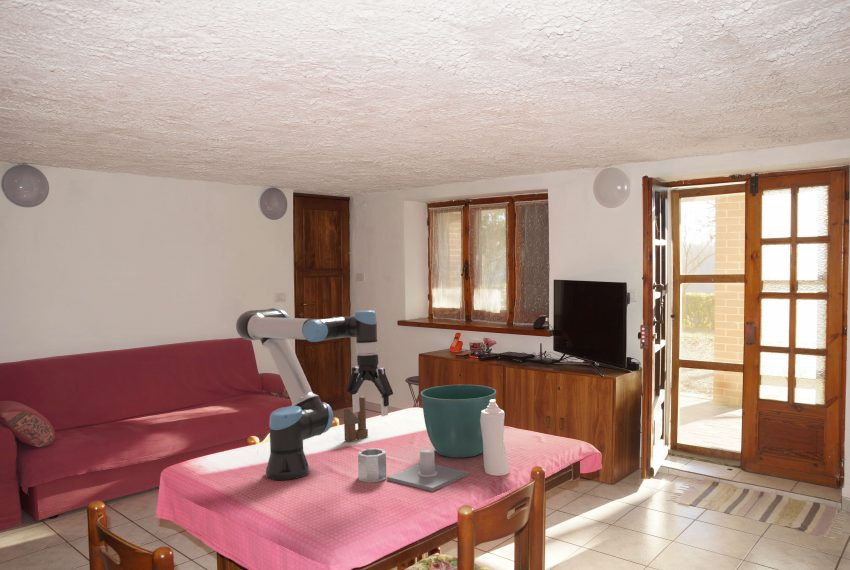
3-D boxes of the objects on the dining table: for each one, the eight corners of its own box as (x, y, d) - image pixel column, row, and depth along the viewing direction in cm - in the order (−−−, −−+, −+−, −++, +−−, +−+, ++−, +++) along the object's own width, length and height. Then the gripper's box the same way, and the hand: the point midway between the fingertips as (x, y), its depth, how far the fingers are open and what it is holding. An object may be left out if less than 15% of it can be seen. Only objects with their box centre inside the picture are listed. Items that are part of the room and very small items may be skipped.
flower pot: (459, 468, 222) (457, 402, 222) (407, 452, 245) (405, 392, 245) (513, 451, 242) (511, 390, 242) (460, 437, 265) (458, 382, 264)
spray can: (473, 471, 219) (471, 401, 218) (489, 463, 227) (487, 396, 227) (501, 477, 212) (499, 404, 211) (516, 468, 220) (515, 399, 220)
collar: (373, 484, 208) (372, 457, 208) (353, 479, 214) (352, 453, 214) (391, 476, 215) (391, 451, 215) (372, 471, 221) (371, 446, 221)
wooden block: (344, 441, 264) (343, 399, 264) (362, 435, 272) (361, 395, 272) (350, 442, 262) (348, 400, 262) (368, 437, 270) (367, 396, 270)
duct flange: (432, 491, 199) (431, 463, 199) (387, 480, 211) (386, 453, 211) (467, 475, 215) (467, 448, 214) (423, 465, 227) (422, 440, 227)
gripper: (401, 353, 213) (404, 414, 213) (349, 351, 228) (352, 408, 228) (387, 356, 207) (390, 419, 207) (335, 354, 222) (337, 412, 222)
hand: (370, 413), depth 217 cm, fingers open, 13 cm apart
